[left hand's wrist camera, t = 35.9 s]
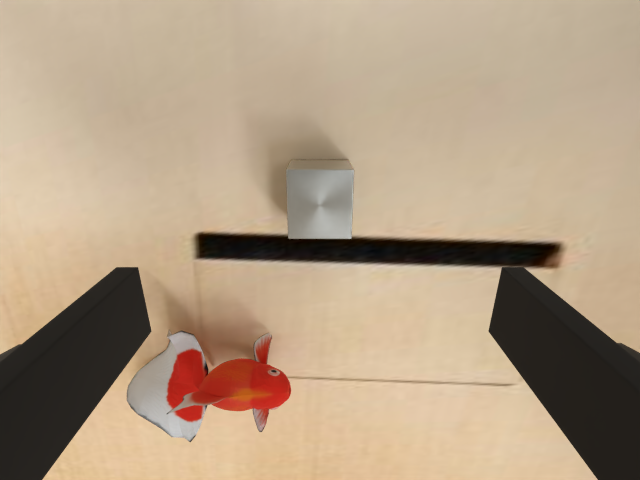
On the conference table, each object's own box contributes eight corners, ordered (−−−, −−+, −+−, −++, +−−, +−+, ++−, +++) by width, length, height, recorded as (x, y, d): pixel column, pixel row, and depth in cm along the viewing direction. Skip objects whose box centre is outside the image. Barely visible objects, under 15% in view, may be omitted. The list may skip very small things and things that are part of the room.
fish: (291, 457, 33) (228, 533, 24) (168, 391, 39) (78, 432, 29) (320, 348, 33) (266, 383, 23) (191, 297, 38) (106, 309, 29)
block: (292, 220, 30) (288, 239, 26) (290, 159, 28) (285, 169, 24) (347, 220, 30) (351, 239, 26) (349, 159, 28) (354, 169, 24)
